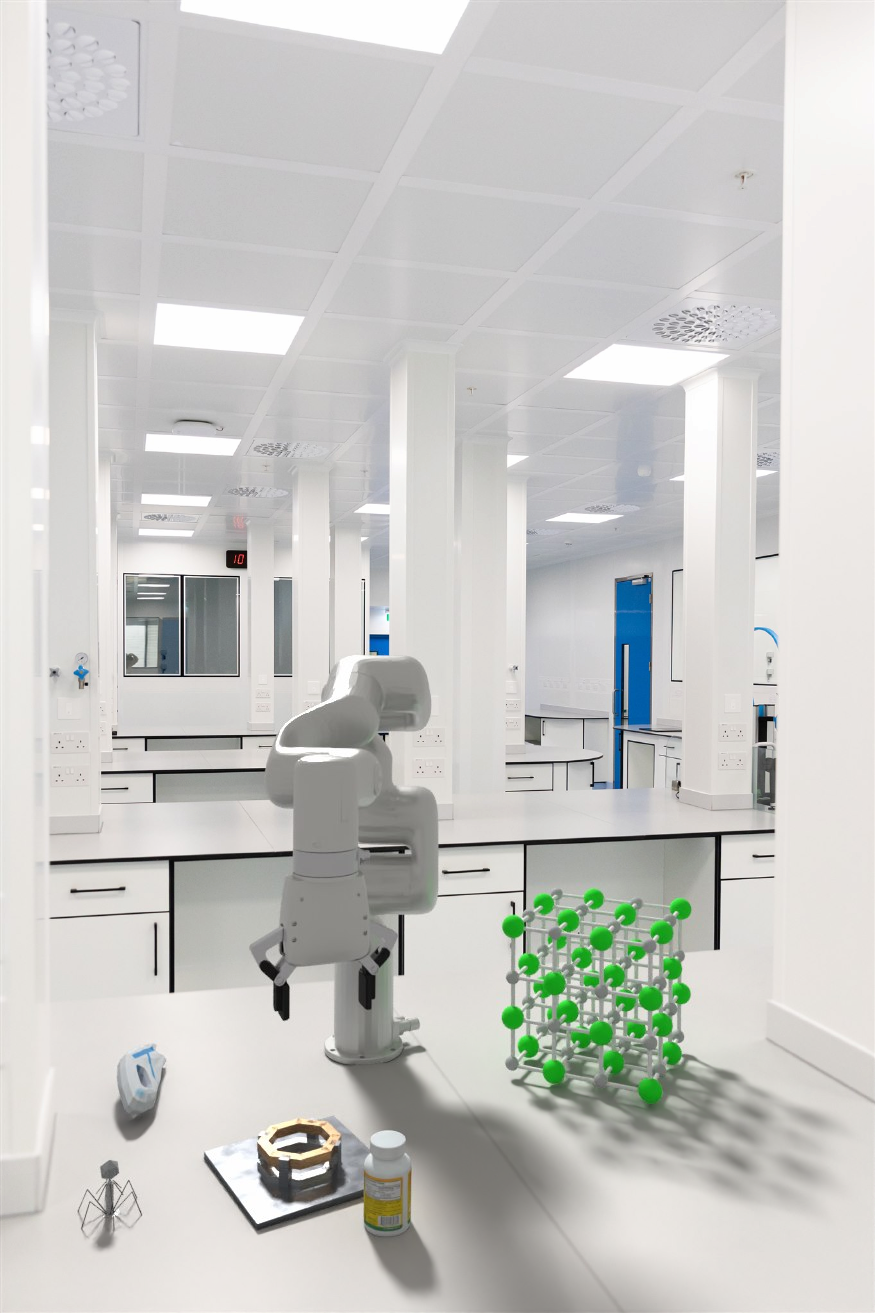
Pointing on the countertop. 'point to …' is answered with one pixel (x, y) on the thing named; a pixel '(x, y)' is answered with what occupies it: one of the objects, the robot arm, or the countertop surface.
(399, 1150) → the supplement bottle
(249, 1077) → the countertop surface
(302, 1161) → the collar base
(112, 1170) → the bacteriophage
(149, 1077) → the spaceship
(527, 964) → the molecular structure model
